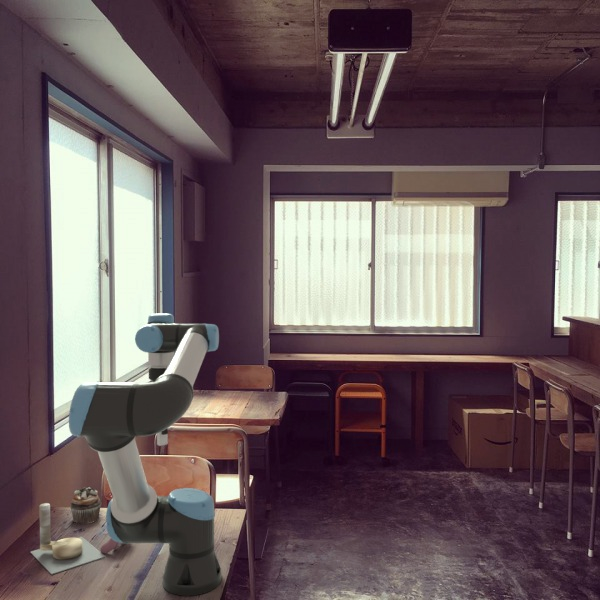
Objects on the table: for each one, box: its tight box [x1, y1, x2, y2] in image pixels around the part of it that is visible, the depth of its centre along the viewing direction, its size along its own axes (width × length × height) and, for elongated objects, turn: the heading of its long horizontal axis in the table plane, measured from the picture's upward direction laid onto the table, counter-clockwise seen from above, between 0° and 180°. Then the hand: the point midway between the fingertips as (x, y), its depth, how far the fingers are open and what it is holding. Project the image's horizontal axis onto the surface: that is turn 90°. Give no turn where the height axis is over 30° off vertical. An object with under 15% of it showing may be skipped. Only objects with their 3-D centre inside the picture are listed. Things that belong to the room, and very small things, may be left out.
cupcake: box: [69, 485, 102, 524], centre depth 199 cm, size 10×10×10 cm
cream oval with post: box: [38, 502, 82, 560], centre depth 174 cm, size 12×8×14 cm
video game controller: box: [99, 538, 125, 555], centre depth 179 cm, size 10×5×7 cm, turn 168°
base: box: [30, 536, 106, 576], centre depth 174 cm, size 17×15×1 cm
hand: (162, 444), depth 182 cm, fingers closed
